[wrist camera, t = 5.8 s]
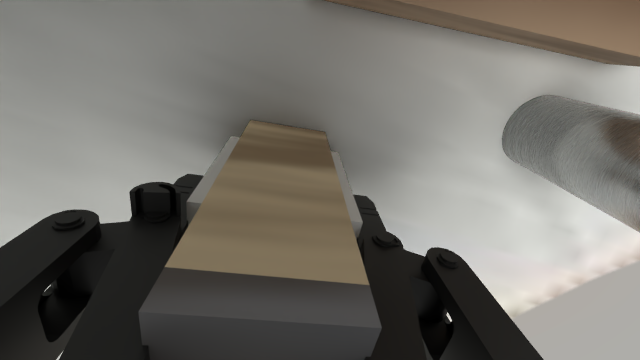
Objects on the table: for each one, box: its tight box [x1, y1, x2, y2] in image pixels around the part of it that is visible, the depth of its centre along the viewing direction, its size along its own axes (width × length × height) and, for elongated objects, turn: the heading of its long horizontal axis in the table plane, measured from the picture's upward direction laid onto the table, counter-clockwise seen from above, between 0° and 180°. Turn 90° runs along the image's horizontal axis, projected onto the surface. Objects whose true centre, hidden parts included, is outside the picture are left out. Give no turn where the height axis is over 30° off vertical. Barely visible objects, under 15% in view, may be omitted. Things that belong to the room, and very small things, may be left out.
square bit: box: [139, 120, 382, 360], centre depth 11 cm, size 4×4×12 cm
